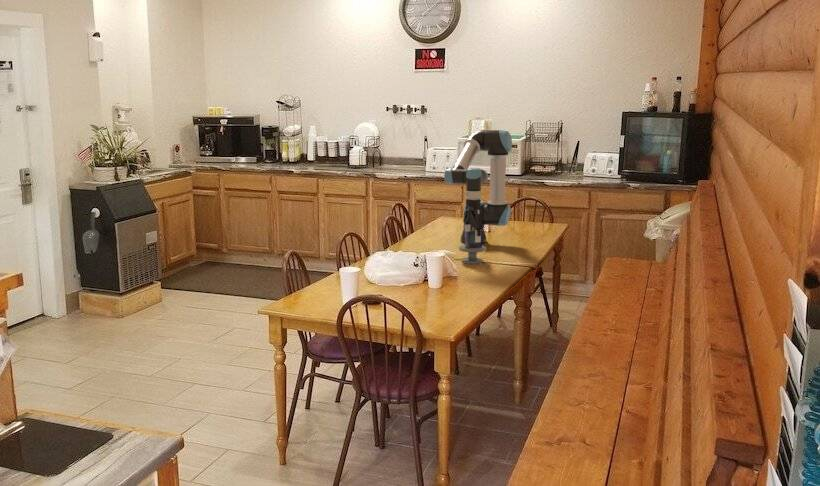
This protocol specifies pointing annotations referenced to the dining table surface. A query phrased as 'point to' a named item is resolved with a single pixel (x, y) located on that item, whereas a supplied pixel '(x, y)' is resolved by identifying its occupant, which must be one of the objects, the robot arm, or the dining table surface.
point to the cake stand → (472, 254)
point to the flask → (472, 239)
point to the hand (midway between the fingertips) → (472, 239)
